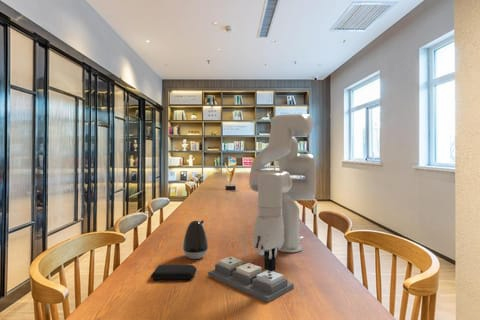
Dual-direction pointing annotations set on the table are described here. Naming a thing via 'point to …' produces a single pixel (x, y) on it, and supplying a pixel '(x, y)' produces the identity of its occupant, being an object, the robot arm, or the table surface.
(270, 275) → the tile three
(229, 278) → the button board
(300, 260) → the table surface
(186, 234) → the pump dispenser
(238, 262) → the tile two
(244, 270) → the tile one
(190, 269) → the carrying case or bag
